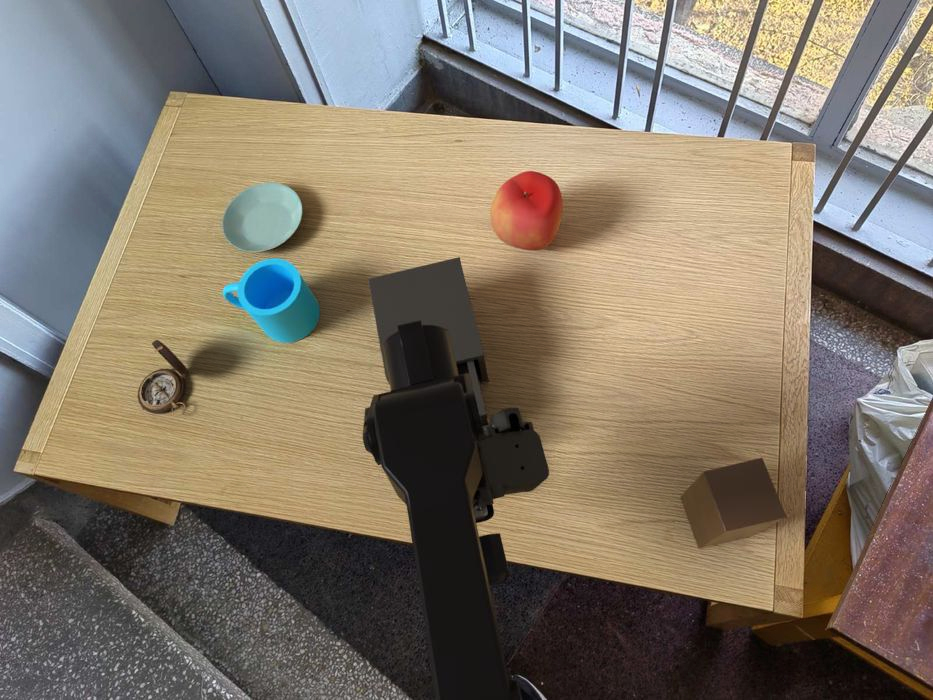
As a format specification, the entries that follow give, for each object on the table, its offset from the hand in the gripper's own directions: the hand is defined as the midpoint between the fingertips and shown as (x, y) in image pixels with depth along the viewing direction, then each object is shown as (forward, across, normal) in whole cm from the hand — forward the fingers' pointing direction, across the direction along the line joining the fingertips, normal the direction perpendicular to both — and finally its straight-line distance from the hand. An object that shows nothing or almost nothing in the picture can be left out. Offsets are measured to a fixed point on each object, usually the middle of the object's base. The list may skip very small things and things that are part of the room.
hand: (462, 501), depth 70 cm
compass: (+10, +25, +35) cm, 44 cm away
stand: (+10, -6, -27) cm, 30 cm away
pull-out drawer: (+10, +11, 0) cm, 15 cm away
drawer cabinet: (+10, +23, 0) cm, 25 cm away
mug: (+10, +33, +20) cm, 40 cm away
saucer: (+10, +48, +20) cm, 53 cm away
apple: (+10, +36, -16) cm, 41 cm away
